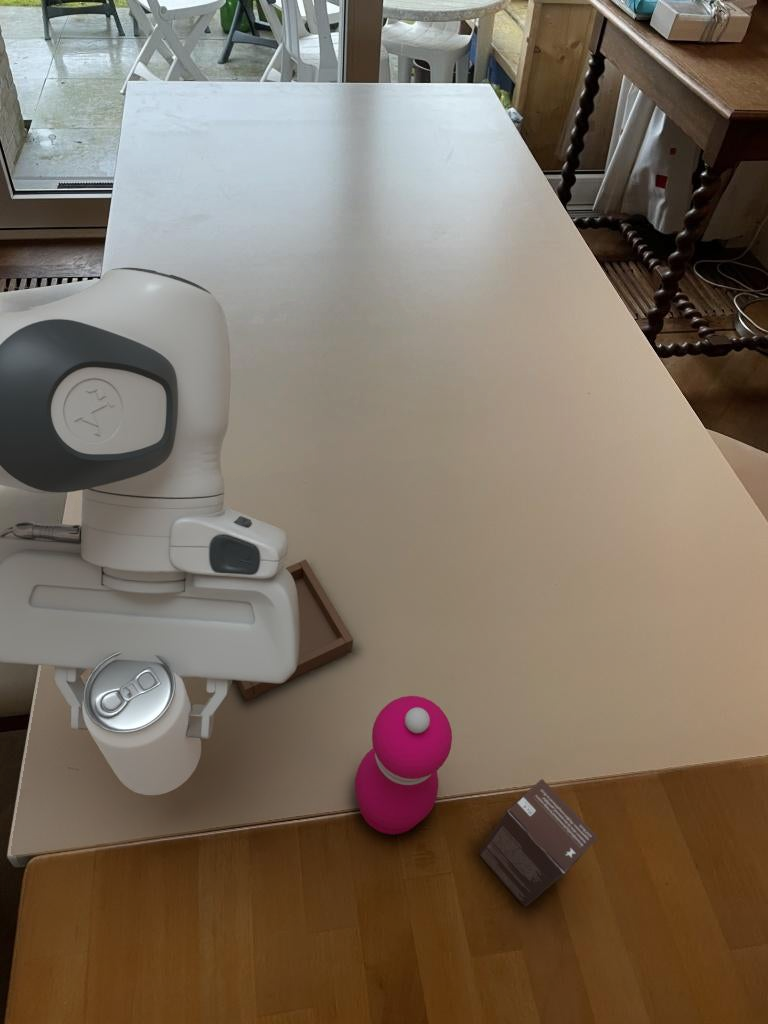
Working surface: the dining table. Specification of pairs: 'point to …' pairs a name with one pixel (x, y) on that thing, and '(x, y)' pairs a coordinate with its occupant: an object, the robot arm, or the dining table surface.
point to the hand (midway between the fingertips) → (143, 730)
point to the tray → (310, 629)
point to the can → (141, 723)
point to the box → (536, 843)
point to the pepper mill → (403, 764)
